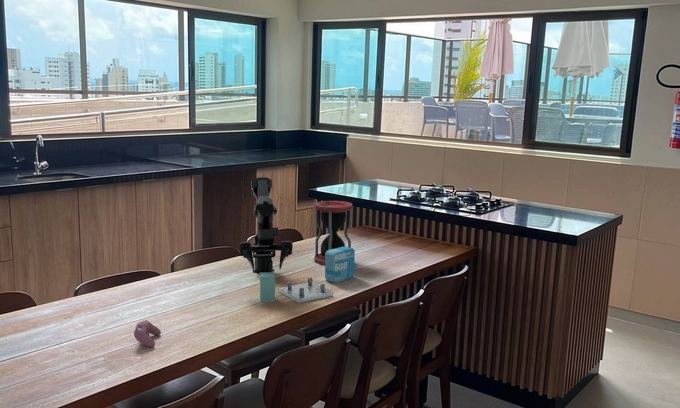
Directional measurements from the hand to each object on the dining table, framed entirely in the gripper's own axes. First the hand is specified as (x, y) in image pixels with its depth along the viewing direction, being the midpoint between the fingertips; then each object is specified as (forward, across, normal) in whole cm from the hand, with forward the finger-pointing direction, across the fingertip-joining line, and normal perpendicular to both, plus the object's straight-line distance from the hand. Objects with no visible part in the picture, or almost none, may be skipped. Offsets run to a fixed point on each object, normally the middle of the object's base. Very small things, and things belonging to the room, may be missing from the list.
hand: (266, 269), depth 213 cm
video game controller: (+32, -36, -17) cm, 51 cm away
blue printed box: (-5, +29, +19) cm, 35 cm away
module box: (+9, 0, +5) cm, 10 cm away
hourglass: (-24, +30, +38) cm, 54 cm away
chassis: (+6, +14, +8) cm, 17 cm away
